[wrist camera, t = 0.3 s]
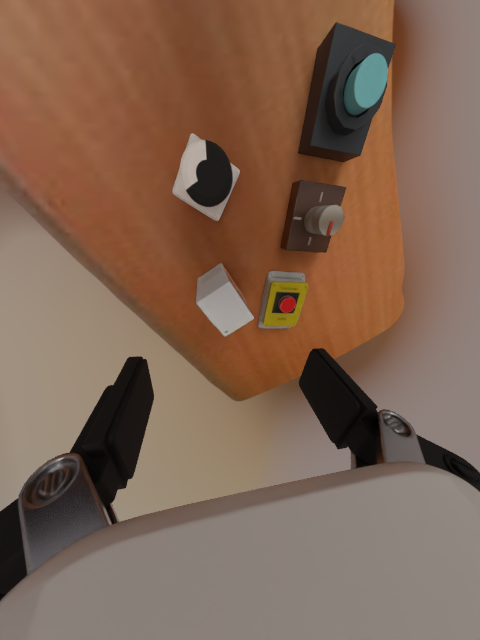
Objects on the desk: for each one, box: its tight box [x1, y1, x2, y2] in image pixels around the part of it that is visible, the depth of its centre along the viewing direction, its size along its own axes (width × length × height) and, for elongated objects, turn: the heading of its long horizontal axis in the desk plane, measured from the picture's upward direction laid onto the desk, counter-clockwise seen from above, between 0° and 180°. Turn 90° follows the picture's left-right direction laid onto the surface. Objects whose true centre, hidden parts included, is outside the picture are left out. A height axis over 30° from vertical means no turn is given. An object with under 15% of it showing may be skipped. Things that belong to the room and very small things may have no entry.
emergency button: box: [258, 271, 308, 328], centre depth 42 cm, size 9×4×15 cm
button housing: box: [298, 22, 395, 162], centre depth 26 cm, size 11×9×6 cm
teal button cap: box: [343, 53, 388, 115], centre depth 23 cm, size 4×4×2 cm
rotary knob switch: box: [281, 180, 346, 253], centre depth 34 cm, size 11×9×3 cm
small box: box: [196, 263, 255, 337], centre depth 34 cm, size 8×6×13 cm
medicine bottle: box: [172, 133, 240, 221], centre depth 25 cm, size 7×7×12 cm
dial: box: [304, 205, 344, 236], centre depth 31 cm, size 4×4×5 cm
